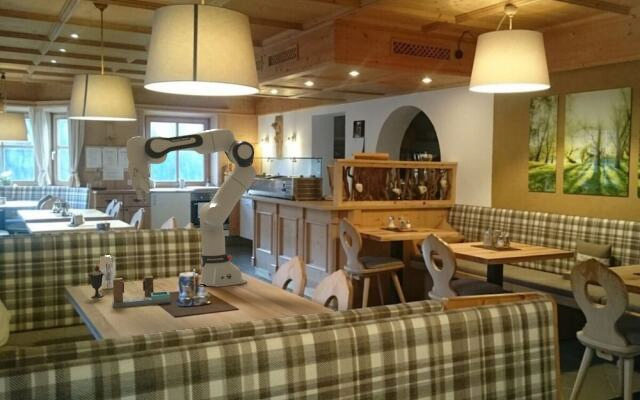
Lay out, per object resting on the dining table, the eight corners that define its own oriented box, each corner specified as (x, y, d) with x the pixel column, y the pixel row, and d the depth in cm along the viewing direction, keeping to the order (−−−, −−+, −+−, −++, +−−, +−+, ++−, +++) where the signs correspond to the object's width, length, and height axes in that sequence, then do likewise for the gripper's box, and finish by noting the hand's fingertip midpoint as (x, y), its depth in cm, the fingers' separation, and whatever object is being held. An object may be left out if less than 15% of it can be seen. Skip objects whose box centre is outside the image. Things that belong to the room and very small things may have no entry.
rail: (168, 299, 246) (167, 273, 246) (170, 302, 240) (169, 276, 239) (112, 304, 238) (111, 277, 238) (113, 308, 232) (112, 280, 231)
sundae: (98, 299, 249) (97, 264, 248) (85, 298, 251) (84, 263, 251) (108, 295, 255) (107, 262, 255) (96, 295, 258) (94, 261, 257)
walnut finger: (153, 296, 253) (152, 275, 253) (153, 297, 250) (153, 277, 249) (143, 297, 252) (142, 276, 251) (143, 298, 248) (143, 278, 248)
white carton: (112, 289, 270) (111, 257, 270) (98, 289, 270) (96, 257, 270) (118, 286, 277) (117, 255, 277) (103, 286, 277) (102, 255, 277)
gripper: (140, 165, 255) (144, 196, 253) (150, 174, 275) (154, 203, 273) (126, 167, 255) (129, 198, 253) (137, 176, 275) (140, 205, 273)
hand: (142, 201), depth 263 cm, fingers open, 8 cm apart
